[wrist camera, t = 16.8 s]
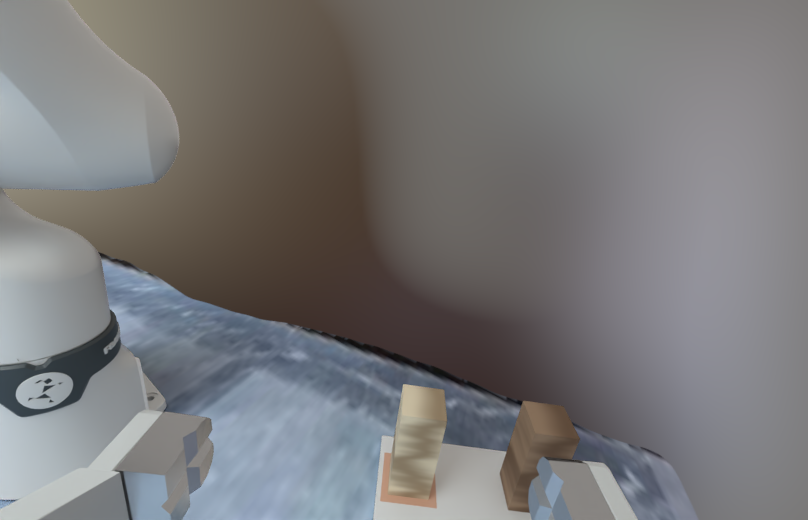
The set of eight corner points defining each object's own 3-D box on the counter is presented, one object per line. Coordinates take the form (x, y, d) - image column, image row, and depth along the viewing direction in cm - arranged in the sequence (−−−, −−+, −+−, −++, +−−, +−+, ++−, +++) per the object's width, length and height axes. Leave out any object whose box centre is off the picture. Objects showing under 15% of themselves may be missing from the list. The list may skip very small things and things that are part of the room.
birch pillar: (387, 494, 40) (401, 415, 36) (390, 459, 44) (403, 384, 40) (428, 499, 40) (447, 421, 36) (427, 463, 44) (443, 389, 40)
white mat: (372, 529, 37) (372, 524, 37) (381, 438, 47) (382, 435, 47) (570, 553, 37) (572, 549, 37) (536, 459, 48) (538, 455, 47)
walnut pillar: (508, 510, 40) (535, 433, 36) (499, 473, 44) (523, 400, 40) (548, 515, 40) (579, 439, 36) (535, 478, 44) (563, 406, 40)
